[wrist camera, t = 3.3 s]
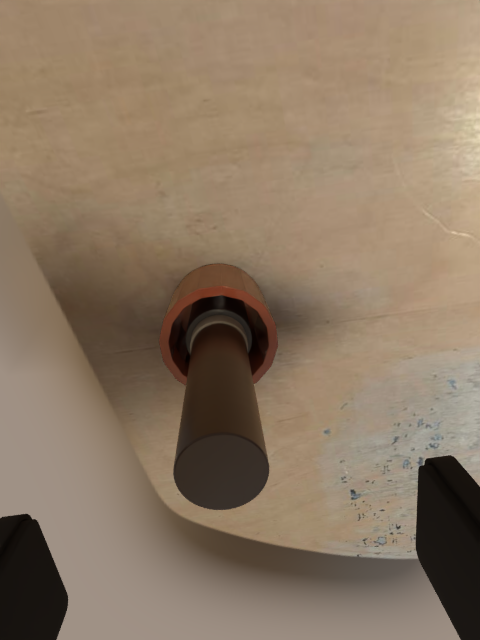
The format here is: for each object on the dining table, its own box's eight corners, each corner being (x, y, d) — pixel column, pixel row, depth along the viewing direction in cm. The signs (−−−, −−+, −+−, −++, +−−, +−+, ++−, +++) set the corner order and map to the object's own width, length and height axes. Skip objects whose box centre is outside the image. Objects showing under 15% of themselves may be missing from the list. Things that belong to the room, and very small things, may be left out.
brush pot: (181, 356, 27) (172, 402, 21) (164, 270, 25) (148, 296, 19) (268, 344, 27) (282, 386, 21) (258, 257, 25) (271, 279, 19)
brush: (196, 340, 26) (172, 528, 12) (186, 289, 25) (147, 431, 10) (248, 332, 26) (288, 511, 12) (242, 281, 25) (277, 412, 10)
